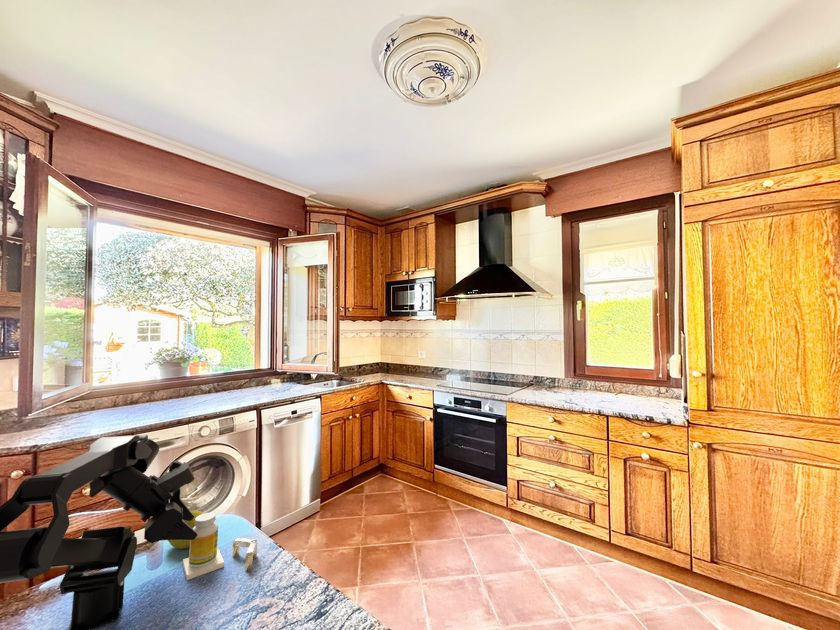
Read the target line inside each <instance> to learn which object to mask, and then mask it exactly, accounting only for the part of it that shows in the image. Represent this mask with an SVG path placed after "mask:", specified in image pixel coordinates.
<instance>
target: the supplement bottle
mask: <svg viewBox="0 0 840 630" xmlns="http://www.w3.org/2000/svg"><path fill="white" fill-rule="evenodd" d="M216 517H217V516H216V513H215V512H204V514H201V515H199V516H197V517H196V518H195V524H194V525H195V527H194V528H193V530H194V531H195V532H196V533H197V537H196V538H195V539H194V540H190V547H189V550H188V551H189V553H188V558H189V565H190V566H191V567H194V568H199V567H204V566H206V565H208V564H210V563H212V562H213V561H214V560H215V558H216V556H217V548H218V539H219V537H218V536H219V525H218V523H217V522H216Z"/></svg>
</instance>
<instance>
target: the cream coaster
mask: <svg viewBox="0 0 840 630" xmlns="http://www.w3.org/2000/svg"><path fill="white" fill-rule="evenodd" d="M182 565H183V571H184V575H185V579H186V581H189V580H191V579H194V578H197V577H199V576H202V575H206V574H208V573H210V572H213V571H216V570H219V569H222V568H224V567H225V561H224V558H223V556H222V554H221V551H220V548H219V547H217V556H216V558H215V560H214V561H213V562H212V563H210V564H208V565H206V566H204V567H199V568H194V567H191V566H190V565H189V557H187V558H183V559H182Z"/></svg>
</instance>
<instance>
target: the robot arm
mask: <svg viewBox="0 0 840 630" xmlns="http://www.w3.org/2000/svg"><path fill="white" fill-rule="evenodd" d="M159 452H160V446H159V445H158V443H157V442H156V441H154V440H152V439H150V438H149V435H148V434H141V435H140V434H139V435H138V434H137V435H134V434H133V435H120V436H119V435H118V436H117V435H116V436H102V437H101V436H100V437H99V438H97V439H96V440H94V442H92V443H91V444H89V445H88V449H87V452H85V453H83V454H80V455H78V456H76V457H74V458H72V459H70V460H68V461H65V462H64V463H61V464H59V465H57V466H55V467H53V468H51V469H48V470H46V471H44V472H41V473H40V474H35V475H33V476H30V477H27V478H25V479H23V480H22V481H21V483H20V484H19V485H18V487H17V488H16V490H15V492H14V493H13V494H12V496H11V497H10V498H9V499H8V500H7V501H5V502H4V503H2V504H1V505H0V584H5V583H11V582H18V581H23V580H24V581H26V580H31V579H34V578H36V577H38V576H41V575H43V574H46V573H47V572H49V571H50V570H51V569H54V568H63V567H67V569H66V571H65V574H64V575H63V578H62V579H61V582H60V584H59V589H60V595H66V594H69V593H73V595H72V605H71V606H72V608H71V616H70V617H71V619H70V625H69V630H94V629H96V628H98V627H101V626H103V625H104V626H105V625H106V624H108V623H111V622H114V621H116V620H118V619H119V618H120V610H122V609H123V607H124V596H125V579H126V578H127V576H128V575H129V574H130V573H131V571H132V569H133V565H134V561H135V557H136V550H137V545H138V538H137V536H135V535H136V534H135V531H133V530H132V528H133V527H132V526H114V527H106V528H97V529H90V530H82V534H81V537H64V536H65V534H67V533H66V532H67V531H68V529H69V526H70V517H69V510H68V502H69V500H70V498H71V496H72V495H73V493H74V492H76V491H77V490H80V489H81V488H83V487H85V486H86V485H88V484H89V493H88V494H89V497H90V498H95V497H96V496H97V495H98V494H99V493H101V492H103V493H105V494H106V495H107V496H109V497H111V498H112V499H114V500H116V501H117V502H119V503H121V504H122V505H123V507H122V509H123V510H125V511H126V512H128V511H129V510H132V511H134V512H135V513H136V514H138V515H140V521H142V522H144V523H145V524H144V531H143V532H144V534H143V538H144V540H145V541H147V542H148V543H150V544H154V543H158V542H160V541H168V540H194V539H195V538H196V537H197V533H196V532H195V531H194V530H193V529H192V528H191V527H190V526H189V525H188V524H187V523H186V522H185V521H184V520H187V521H191V520H192V519H193V518H194V515H193V514H192V513H191V511H192V510H190V509H189V508H188V506H187V505H186V504H185V503H184V501H183V500H182V498H181V488H182V487H184V486H185V485H189V484H190V483H192V482H193V481H194V480H195V475H194V472H193V471H192V469H191V467H190V465H189V463H188V462H186V461H184V462H180V461H178V459H177V460H174V461H172V462H171V463H169V464H168V465H169V467H168V472H167V471H165V473H164V474H163V475H161V476H160V477H158V476H156V475H155V474H153V475H149V476H148V475H147V474H145V473H146V472H147V471H148V468H149V467H150V466H151V464H152V463H153V462H154V460H155V458H156V457H157V456H158V454H159ZM46 504H47V505H49V504H51V505H52V511H53V517H52V518H51V520H50V522H49V523H48V526H43V527H31V528H24V529H23V528H22V529H15V530H7V531H3V530H5V529H6V528H7V527H8V526H9V525H10V524H12V522H14V521H15V520H17V518H19V517H20V516H22V514H24V513H25V512H27V510H28V509H29V508H30V506H36V505H46ZM110 568H111V569H110ZM113 568H114V569H113ZM103 569H105V570H103ZM97 570H98V571H97ZM91 571H92V572H91ZM85 572H86V573H85Z"/></svg>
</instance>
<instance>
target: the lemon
mask: <svg viewBox="0 0 840 630" xmlns="http://www.w3.org/2000/svg"><path fill="white" fill-rule="evenodd" d="M190 511H191V513H192V514H193V515H194V518H193V519H192V520H191V521H187V520H184V521H185V522H186V523H187V524H188V525H189V526H190V527H191V528H192V529H193V528H194V527H195V525H194V524H195V518H196V517H197V516H199V515H201V514H204V513H205V512H204V511H200V510H190ZM167 542H168V543H169V544H170V545H171V546H172V547H173V548H174V549H181V550H183V549H190V540H167Z"/></svg>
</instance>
